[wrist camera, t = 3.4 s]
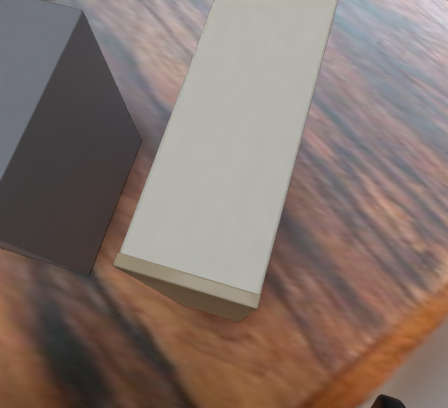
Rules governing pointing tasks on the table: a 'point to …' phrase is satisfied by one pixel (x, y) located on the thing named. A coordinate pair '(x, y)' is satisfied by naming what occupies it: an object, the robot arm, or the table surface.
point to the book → (229, 156)
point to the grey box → (58, 135)
